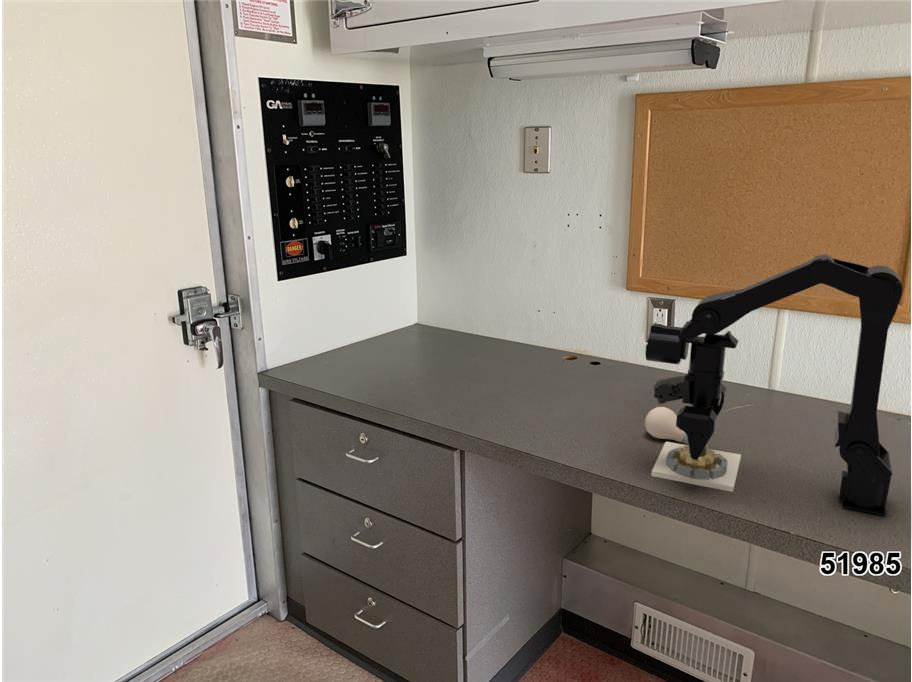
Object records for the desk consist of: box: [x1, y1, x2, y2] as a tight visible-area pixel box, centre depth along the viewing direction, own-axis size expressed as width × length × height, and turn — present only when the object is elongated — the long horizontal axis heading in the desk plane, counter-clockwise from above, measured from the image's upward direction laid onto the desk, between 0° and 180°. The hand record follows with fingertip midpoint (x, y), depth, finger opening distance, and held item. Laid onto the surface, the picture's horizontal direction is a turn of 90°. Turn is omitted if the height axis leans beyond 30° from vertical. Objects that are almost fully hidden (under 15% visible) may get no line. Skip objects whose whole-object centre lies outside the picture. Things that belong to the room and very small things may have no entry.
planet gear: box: [677, 444, 717, 471], centre depth 130 cm, size 7×7×7 cm
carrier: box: [650, 441, 742, 493], centre depth 132 cm, size 14×14×4 cm
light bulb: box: [644, 406, 689, 445], centre depth 144 cm, size 7×7×11 cm
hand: (698, 448), depth 130 cm, fingers open, 9 cm apart
